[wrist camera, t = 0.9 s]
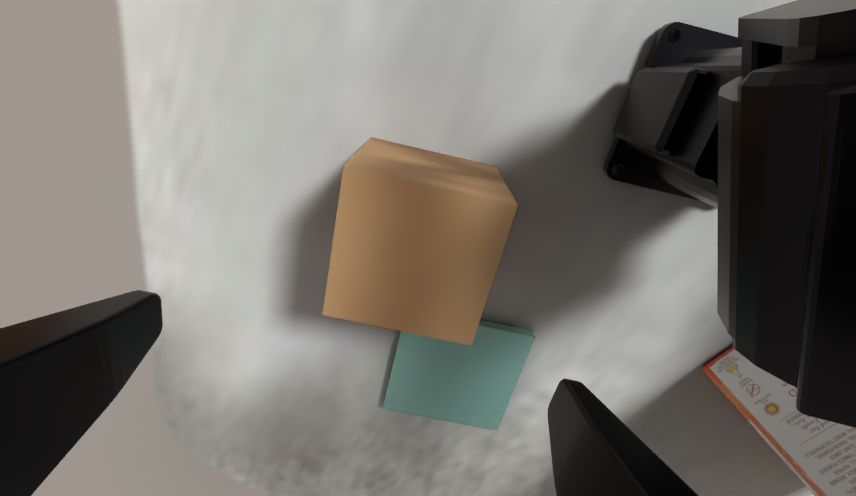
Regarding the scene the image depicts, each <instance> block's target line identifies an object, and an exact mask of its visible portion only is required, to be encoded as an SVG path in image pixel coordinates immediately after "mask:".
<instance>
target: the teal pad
mask: <svg viewBox="0 0 856 496" xmlns="http://www.w3.org/2000/svg"><path fill="white" fill-rule="evenodd" d="M534 338H535V336H534V333H533V331H532V330H527V329H522V328H518V327H513V326H508V325H503V324H498V323H494V322H489V321H484V320H480V322H479V325H478V328H477V331H476V334H475V337H474V340H473V343H472V346H471V345H466V344H461V343H456V342H451V341H446V340H442V339H437V338H432V337H427V336H422V335H417V334H412V333H408V332H403V331H401V332H400V336H399V340H398V344H397V348H396V352H395V357H394V361H393V365H392V369H391V373H390V378H389V382H388V386H387V390H386V394H385V398H384V403H383V409H388V410H393V411H398V412H403V413H408V414H414V415H419V416H424V417H429V418H434V419H440V420H445V421H450V422H455V423H460V424H465V425H471V426H476V427H481V428H486V429H491V430H497V429H498V427H499V424H500V422H501V419H502V417H503V414H504V412H505V410H506V407H507V405H508V402H509V400H510V397H511V395H512V392H513V390H514V387H515V385H516V382H517V380H518V377H519V375H520V373H521V370H522V368H523V365H524V363H525V360H526V358H527V355H528V353H529V350H530V348H531V345H532V343H533V341H534Z"/></svg>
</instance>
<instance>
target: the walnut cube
mask: <svg viewBox="0 0 856 496" xmlns="http://www.w3.org/2000/svg"><path fill="white" fill-rule="evenodd" d="M517 207H518V204H517V202H516V201H515V199H514V197H513V195H512V193H511V192H510V190H509V188H508V186H507V184H506V183H505V181H504V179H503V177H502V176H501V174H500V172H499V170H498V168H497V167H496V166H491V165H487V164H483V163H479V162H474V161H470V160H466V159H462V158H457V157H453V156H449V155H445V154H440V153H436V152H432V151H428V150H423V149H419V148H415V147H411V146H406V145H402V144H398V143H393V142H389V141H385V140H381V139H376V138H372V137H371V138H370V139H369V140H368V141H367V142H366V143H365V144H364V145H363V146H362V147H361V148H360V149H359V150H358V151H357V152H356V153H355V154H354V155H353V156H352V157H351V158H350V159H349V160H348V161H347V162H346V163H345V164H344V165H343V172H342V179H341V186H340V193H339V200H338V207H337V214H336V222H335V229H334V236H333V243H332V250H331V257H330V264H329V271H328V278H327V285H326V292H325V299H324V306H323V313H322V315H325V316H330V317H335V318H340V319H344V320H349V321H354V322H359V323H364V324H369V325H374V326H378V327H383V328H388V329H393V330H398V331H403V332H408V333H412V334H417V335H422V336H427V337H432V338H437V339H442V340H446V341H451V342H456V343H461V344H466V345H471V346H472V343H473V340H474V337H475V334H476V331H477V328H478V325H479V322H480V319H481V316H482V313H483V310H484V307H485V304H486V301H487V298H488V295H489V292H490V289H491V286H492V283H493V280H494V277H495V274H496V271H497V268H498V264H499V261H500V258H501V255H502V252H503V249H504V246H505V243H506V240H507V237H508V234H509V231H510V228H511V225H512V222H513V219H514V216H515V213H516V210H517Z"/></svg>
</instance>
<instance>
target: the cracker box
mask: <svg viewBox="0 0 856 496" xmlns="http://www.w3.org/2000/svg"><path fill="white" fill-rule="evenodd" d="M703 371H704V372H705V373H706V374H707V376H708V377H709V378H710V379H711V380H712V381H713V382H714V383H715V385H716V386H717V387H718V388H719V389H720V390H721V391H722V392H723V393H724V394H725V396H726V397H727V398H728V399H729V400H730V401H731V402H732V403H733V404H734V406H735V407H736V408H737V409H738V410H739V411H740V412H741V413H742V415H743V416H744V417H745V418H746V419H747V420H748V421H749V422H750V423H751V425H752V426H753V427H754V428H755V429H756V430H757V432H758V433H759V434H760V435H761V436H762V437H763V439H764V440H765V441H766V442H767V443H768V444H769V445H770V446H771V447H772V449H773V450H774V451H775V452H776V453H777V454H778V455H779V456H780V457H781V458H782V460H783V461H784V462H785V463H786V464H787V465H788V466H789V467H790V468H791V470H792V471H793V472H794V473H795V474H796V475H797V476H798V477H799V478H800V480H801V481H802V482H803V483H804V484H805V485H806V486H807V487H808V489H809V490H810V491H811V492H812V493H813V494H814V495H815V496H856V428H854V427H850V426H846V425H842V424H838V423H834V422H831V421H827V420H823V419H819V418H815V417H811V416H807V415H804V414H802V413H801V412H799V411H798V410H797V409H796V395H797V387H794V386H792V385H790V384H788V383H786V382H784V381H782V380H780V379H779V378H777V377H775V376H773V375H771V374H770V373H768V372H766V371H764V370H762V369H760V368H759V367H757V366H755V365H754V364H753V363H751V362H750V361H749V360H748V359H746V358H745V357H744V356H743V355H741V354H740V353H739V352H738V351H736V350H735V348H734V347H731V348H730V349H728V350H727V351H725V352H724V353H723V354H721V355H720V356H718V357H717V358H715V359H714V360H713V361H711V362H710V363H708V364H707V365H706V366H704V367H703Z"/></svg>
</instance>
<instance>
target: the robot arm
mask: <svg viewBox="0 0 856 496" xmlns="http://www.w3.org/2000/svg"><path fill="white" fill-rule="evenodd" d="M671 30H673V31H674V32H675V39H674V40H673V42H671V43H670V42H668V39H667V37H668V34H669V32H670V31H671ZM614 133H615V135H616V137H615V140H614V142H613V145H612V147H611V150H610V152H609V154H608V157H607V159H606V162H605V164H604V169H603V170H604V173H605V175H606V176H607V177H609V178H611V179H613V180H616V181H620V182H625V183H629V184H633V185H637V186H641V187H646V188H650V189H654V190H658V191H663V192H667V193H671V194H675V195H679V196H684V197H688V198H692V199H696V200H701V201H703V202H705V203H707V204H709V205H711V206H713V207H715V208H717V209H718V314H719V316H720V318H721V320H722V322H723V324H724V325H725V327H726V329H727V331H728V333H729V334H730V335H731V336H732V337H733V347H734V348H735V350H736V351H738V352H739V353H740V354H741V355H743V356H744V357H745V358H746V359H748V360H749V361H750V362H751V363H753V364H754V365H755V366H757V367H759V368H760V369H762V370H764V371H766V372H768V373H770V374H771V375H773V376H775V377H777V378H779V379H780V380H782V381H784V382H786V383H788V384H790V385H792V386H794V387H797V395H796V409H797V410H798V411H799V412H801V413H802V414H804V415H807V416H811V417H815V418H819V419H823V420H827V421H831V422H834V423H838V424H842V425H846V426H850V427H854V428H856V0H798V1H794V2H791V3H787V4H784V5H781V6H777V7H774V8H770V9H767V10H763V11H760V12H757V13H753V14H750V15H746V16H743V17H740V18H739V22H738V38H737V37H733V36H730V35H726V34H722V33H718V32H715V31H711V30H707V29H703V28H699V27H696V26H692V25H688V24H684V23H681V22H673V23H669V24H666V25H664V26H663V27H662V28H661V29H660V30H659V32H658V34H657V36H656V39H655V41H654V43H653V46H652V48H651V51H650V53H649V56H648V58H647V61H646V63H645V66H644V68H643V69H641V70H640V71H638V72H637V73H636V75H635V77H634V80H633V82H632V85H631V87H630V90H629V92H628V95H627V97H626V100H625V102H624V105H623V107H622V110H621V112H620V115H619V117H618V120H617V122H616V125H615V127H614ZM616 164H620V169H619V170H618V171H617V172H616V173H613V172H612V168H613V167H614V165H616ZM161 330H162V308H161V298H160V296H159V295H158V294H156V293H152V292H147V291H142V290H136V291H132V292H129V293H125V294H122V295H118V296H115V297H111V298H107V299H104V300H100V301H97V302H93V303H90V304H86V305H83V306H79V307H75V308H72V309H68V310H65V311H61V312H57V313H54V314H50V315H47V316H44V317H40V318H36V319H32V320H29V321H26V322H22V323H18V324H15V325H11V326H7V327H4V328H0V496H31V495H32V494H33V493H34V491H35V490H36V489H37V488H38V487H39V486H40V484H41V483H42V482H43V481H44V480H45V479H46V477H47V476H48V475H49V474H50V473H51V472H52V471H53V469H54V468H55V467H56V466H57V465H58V464H59V462H60V461H61V460H62V459H63V458H64V457H65V456H66V454H67V453H68V452H69V451H70V450H71V449H72V447H73V446H74V445H75V444H76V443H77V441H78V440H79V439H80V438H81V437H82V436H83V435H84V433H85V432H86V431H87V430H88V429H89V428H90V427H91V425H92V424H93V423H94V422H95V421H96V420H97V418H98V417H99V416H100V415H101V414H102V412H103V411H104V410H105V409H106V408H107V407H108V406H109V404H110V403H111V402H112V401H113V399H114V398H115V397H116V396H117V395H118V393H119V392H120V391H121V389H122V388H123V387H124V385H125V384H126V382H127V381H128V379H129V378H130V377H131V375H132V374H133V372H134V371H135V370H136V368H137V367H138V365H139V364H140V362H141V361H142V360H143V358H144V357H145V355H146V354H147V352H148V351H149V350H150V348H151V347H152V345H153V344H154V342H155V341H156V340H157V338H158V337H159V335H160V333H161ZM548 423H549V433H550V444H551V454H552V464H553V474H554V482H555V488H556V493H557V496H698V495H697V494H696V493H695V492H694V491H693V490H692V489H691V488H690V487H689V486H688V485H687V484H686V483H685V482H684V481H683V480H682V479H681V478H680V477H679V476H678V475H676V474H675V473H674V472H673V471H672V470H671V469H670V468H669V467H668V466H667V465H666V464H665V463H664V462H663V461H662V460H661V459H660V458H659V457H658V456H657V455H656V454H655V453H654V452H653V451H652V450H651V449H650V448H649V447H648V446H646V445H645V444H644V443H643V442H642V441H641V440H640V439H639V438H638V437H637V436H636V435H635V434H634V433H633V432H632V431H631V430H630V429H629V428H628V427H627V426H626V425H625V424H624V423H623V422H622V421H621V420H620V419H619V418H618V417H617V416H615V415H614V414H613V413H612V412H611V411H610V410H609V409H608V408H607V407H606V406H605V405H604V404H603V403H602V402H601V401H600V400H599V399H598V398H597V397H596V396H595V395H594V394H593V393H592V392H591V391H590V390H589V389H588V388H587V387H586V386H584V385H583V384H582V383H581V382H578V381H574V380H569V379H563V380H561V381H560V383H559V384H558V387H557V389H556V391H555V393H554V395H553V397H552V400H551V402H550V404H549V407H548Z"/></svg>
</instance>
